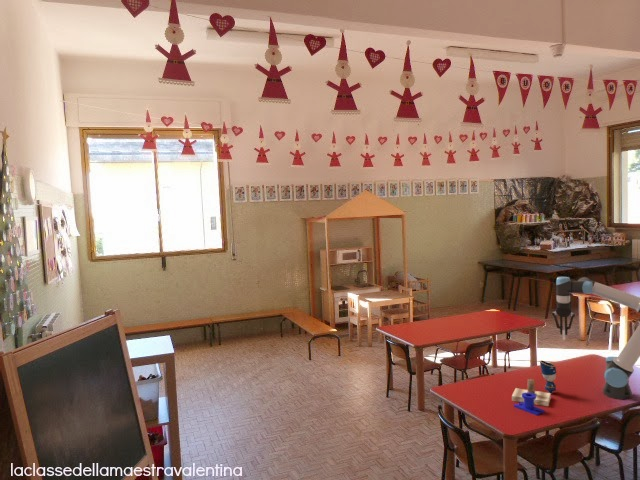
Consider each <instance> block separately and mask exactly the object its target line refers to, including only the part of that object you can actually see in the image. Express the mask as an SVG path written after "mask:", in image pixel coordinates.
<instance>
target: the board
mask: <svg viewBox="0 0 640 480" xmlns="http://www.w3.org/2000/svg"><path fill="white" fill-rule="evenodd" d="M522 393H528V389H524V388H517V387H515V389H514V391H513V392H512V395H511V401H512V402H518V403H521V402H524V398H523V397H522ZM551 394H552V393H549V392H547V391H546V392H545V391H540V390H539V391H538V390H535V395H536V399H534V405H537V406H543V407H549V406H550V402H551V397H552V395H551Z"/></svg>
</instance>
